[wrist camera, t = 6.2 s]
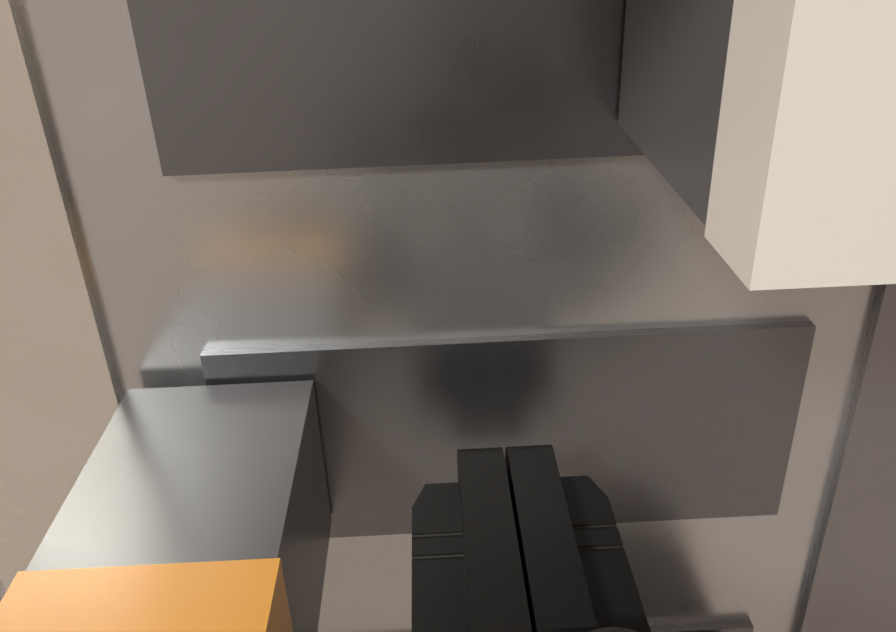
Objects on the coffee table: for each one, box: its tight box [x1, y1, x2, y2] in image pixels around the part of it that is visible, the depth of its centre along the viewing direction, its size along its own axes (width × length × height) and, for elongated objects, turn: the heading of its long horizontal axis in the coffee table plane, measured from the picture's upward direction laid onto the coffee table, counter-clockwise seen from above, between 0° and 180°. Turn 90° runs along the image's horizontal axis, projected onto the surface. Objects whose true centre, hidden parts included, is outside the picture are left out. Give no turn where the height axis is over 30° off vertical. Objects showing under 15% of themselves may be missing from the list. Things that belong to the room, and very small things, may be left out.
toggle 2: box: [618, 0, 896, 291], centre depth 8 cm, size 3×3×5 cm
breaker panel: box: [0, 0, 896, 632], centre depth 15 cm, size 24×18×3 cm
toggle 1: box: [0, 380, 332, 632], centre depth 12 cm, size 3×3×5 cm
